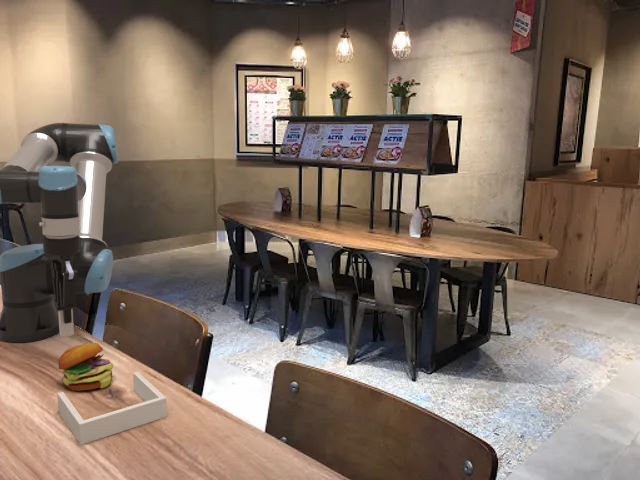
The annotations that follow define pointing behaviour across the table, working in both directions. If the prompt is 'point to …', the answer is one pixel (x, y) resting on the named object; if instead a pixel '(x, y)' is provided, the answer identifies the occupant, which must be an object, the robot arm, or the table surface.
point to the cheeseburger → (85, 367)
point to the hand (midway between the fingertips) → (66, 334)
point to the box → (115, 414)
